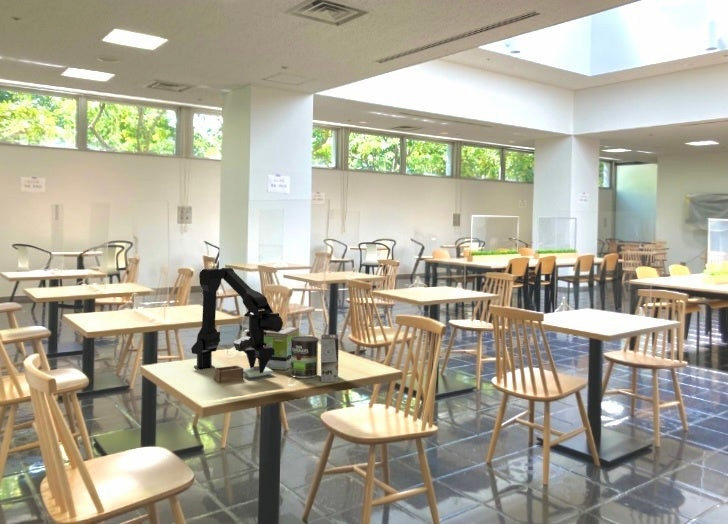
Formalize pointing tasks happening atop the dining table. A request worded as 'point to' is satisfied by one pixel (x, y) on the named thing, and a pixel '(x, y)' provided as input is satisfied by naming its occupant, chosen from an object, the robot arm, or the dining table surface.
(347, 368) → the dining table surface
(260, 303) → the robot arm
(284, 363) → the tea box
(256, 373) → the lid
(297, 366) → the coffee can
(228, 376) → the box
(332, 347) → the coffee box
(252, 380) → the coaster
